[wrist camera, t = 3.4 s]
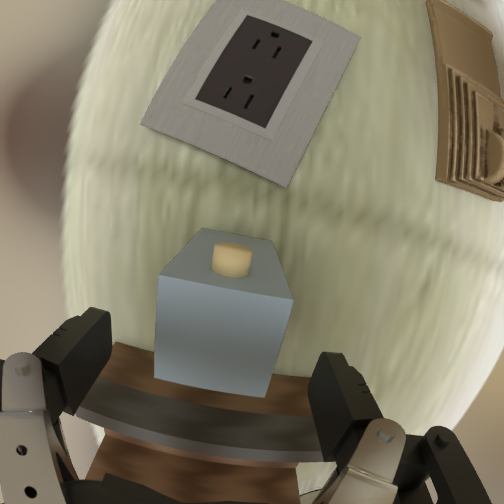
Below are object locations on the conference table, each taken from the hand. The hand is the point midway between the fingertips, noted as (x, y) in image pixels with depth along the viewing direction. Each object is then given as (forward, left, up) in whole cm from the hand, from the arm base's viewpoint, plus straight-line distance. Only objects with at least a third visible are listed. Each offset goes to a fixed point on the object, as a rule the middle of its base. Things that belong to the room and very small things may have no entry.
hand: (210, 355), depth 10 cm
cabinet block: (0, 0, -11) cm, 11 cm away
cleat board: (0, +14, -11) cm, 18 cm away
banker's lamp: (-18, -21, -11) cm, 30 cm away
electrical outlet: (+1, -14, -12) cm, 18 cm away
